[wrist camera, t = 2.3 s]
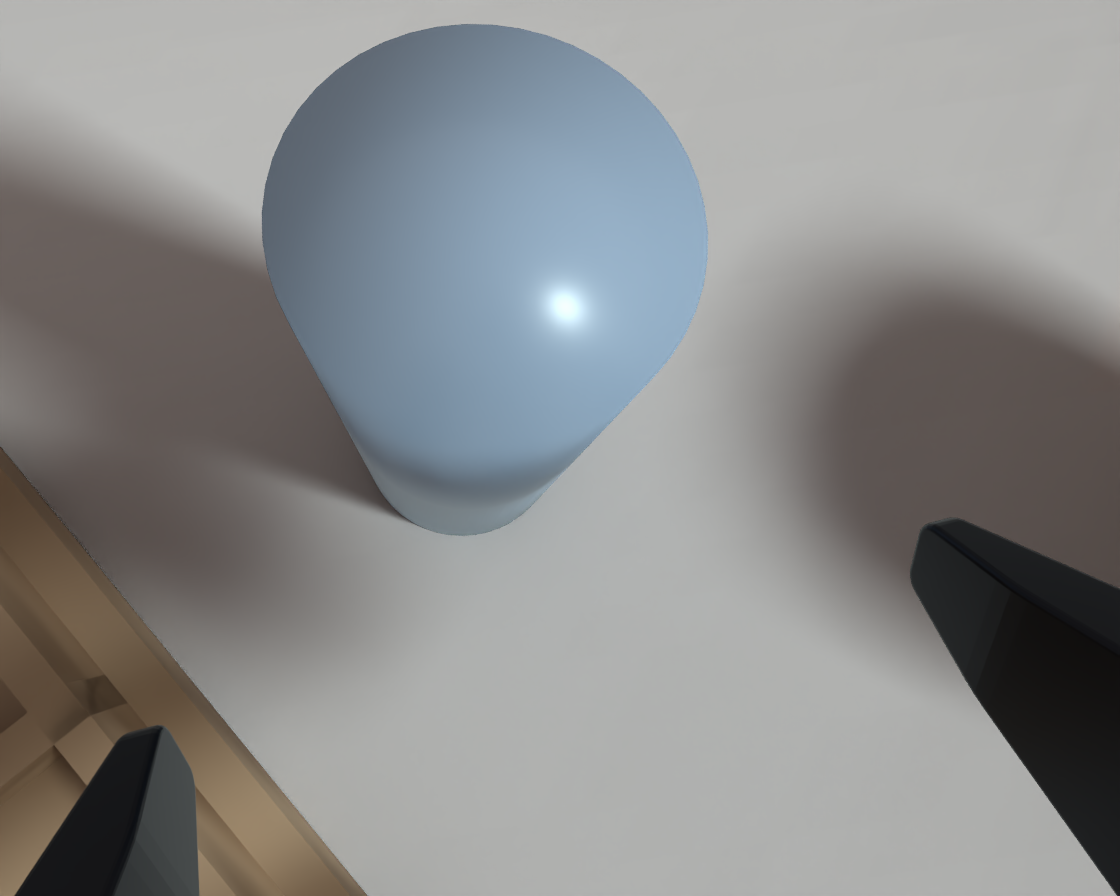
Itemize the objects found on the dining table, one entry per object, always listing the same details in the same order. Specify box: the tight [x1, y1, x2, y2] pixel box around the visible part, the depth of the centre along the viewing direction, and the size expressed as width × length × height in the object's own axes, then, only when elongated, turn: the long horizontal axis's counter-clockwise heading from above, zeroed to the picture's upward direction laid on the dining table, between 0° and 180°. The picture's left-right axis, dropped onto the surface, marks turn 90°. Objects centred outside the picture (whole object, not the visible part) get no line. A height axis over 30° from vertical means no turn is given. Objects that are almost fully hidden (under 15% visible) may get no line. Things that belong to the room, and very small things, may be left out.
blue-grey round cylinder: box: [262, 24, 708, 536], centre depth 15 cm, size 5×5×12 cm
